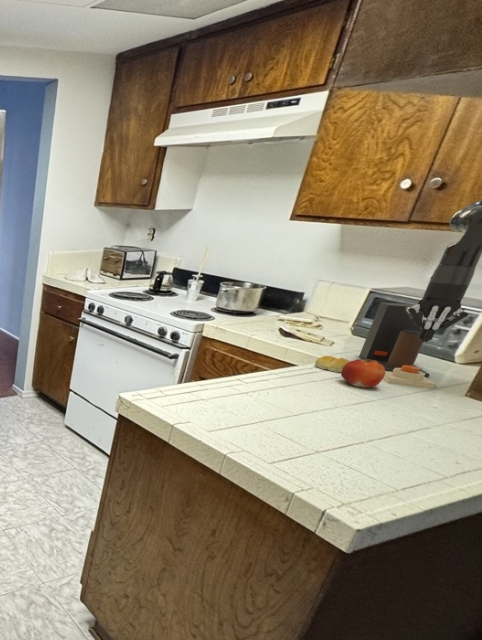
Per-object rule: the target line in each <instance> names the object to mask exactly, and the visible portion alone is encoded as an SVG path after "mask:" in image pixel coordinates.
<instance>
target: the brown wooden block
mask: <svg viewBox="0 0 482 640" xmlns="http://www.w3.org/2000/svg"><path fill="white" fill-rule="evenodd" d="M418 332H419V331H415V330H403V331H400V334H399V336H398V338H397V341H396V343H395V345H394V348H393V350H392V352H391V355H390V357H389V359H388V362H387V365H388V366H391V367H395V368H402V366H403V365H410V366H413V365H415V362H416V360H417V357H418V355H419V353H420V351H421V349H422V346H423V345H424V342H422V341H419V340H418V338H417V335H418Z"/></svg>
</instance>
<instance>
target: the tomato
mask: <svg viewBox="0 0 482 640" xmlns="http://www.w3.org/2000/svg"><path fill="white" fill-rule="evenodd" d="M340 376H341V377H342V379H344V381H346V383H348V384H349V385H351V386H354V387H359V388H364V389H365V388H367V389H368V388H374V387H377V386H378V385H379V384H380V383H381V382H382V381H383V377H384V376H385V369H384V367H383V365H382V364H380V363H378V362H377V361H374V360H370V359H367V360H363V359H361V358H360V359H353V360H349V362H348V363H347V364H345V366H344V367H343V369H342V371H341V372H340Z"/></svg>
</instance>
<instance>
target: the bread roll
mask: <svg viewBox="0 0 482 640" xmlns="http://www.w3.org/2000/svg"><path fill="white" fill-rule="evenodd" d="M348 362H350V360H348V359H346V358H343V357H339V358H337V357H335V356H332V355H323V356H320V357H317V359H316V360H315V363H314V365H315V366H316V367H317V368H319V369H320V370H328V371H329V372H334V373H341V371H342V369H343V367H344V366H345V364H347V363H348Z"/></svg>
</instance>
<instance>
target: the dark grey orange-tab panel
mask: <svg viewBox="0 0 482 640" xmlns="http://www.w3.org/2000/svg"><path fill="white" fill-rule="evenodd" d="M415 305H416V304H410V303H401V302H399V303H398V302H386V301H381V302H380V303H379V305H378V308H377V310H376V313H375V315H374V317H373V320H372V323H371V325H370V327H369V330H368V333H367V335H366V337H365V340H364V343H363V345H362V348H361V350H360V353H359V354H358V357H359V358H360V360H367V359H370V360H374V361H377V362H378V363H380V364H382V365H383V367H384V369H385V371H388V372H393V369H394V368H395V367H391V366H388V365H387V362H388V359H389V357H390V355H391V352H392V350H393V348H394V345H395V343H396V341H397V338H398V336H399V334H400V331H403V330H415V331H419V330H420V327H419V326H417V325H415V324H413V322H412V320H411V318H410V317H409V315H408V313H407V312H406V310H405V309H406V307H412V306H415ZM417 314H418V316H419V318H420V319H421V321H422V317H423V314H422V312H421V310H420V308H419V312H418V313H417ZM413 366H415V367H418V366H417V365H415V364H414V365H413ZM419 371H420V372H423V373H425V376H424V377H426V378H427V379H429V377H430V373H429V372H427V371H425V370H424V369H421V368H420V369H419Z"/></svg>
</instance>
